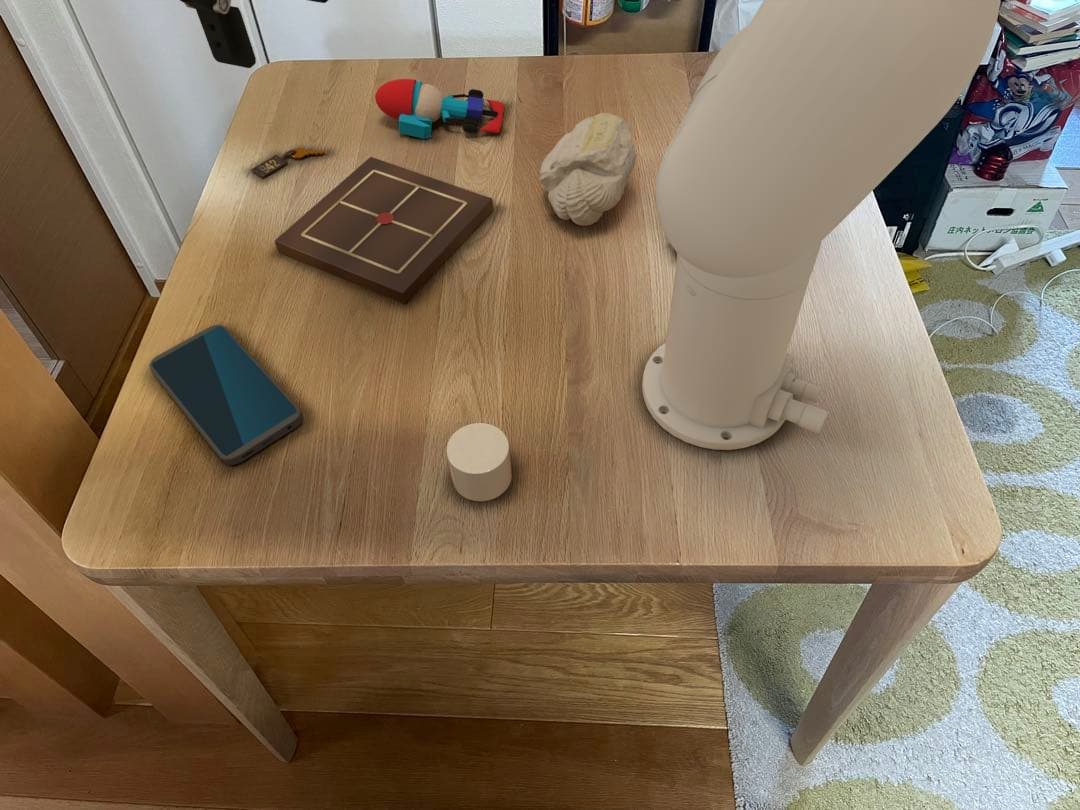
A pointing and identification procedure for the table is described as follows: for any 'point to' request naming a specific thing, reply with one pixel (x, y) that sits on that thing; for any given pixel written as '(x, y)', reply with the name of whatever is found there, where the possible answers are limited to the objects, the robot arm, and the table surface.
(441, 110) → the toy figure
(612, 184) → the fossil replica
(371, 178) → the board
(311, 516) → the table surface
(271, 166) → the key tag
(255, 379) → the smartphone
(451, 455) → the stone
